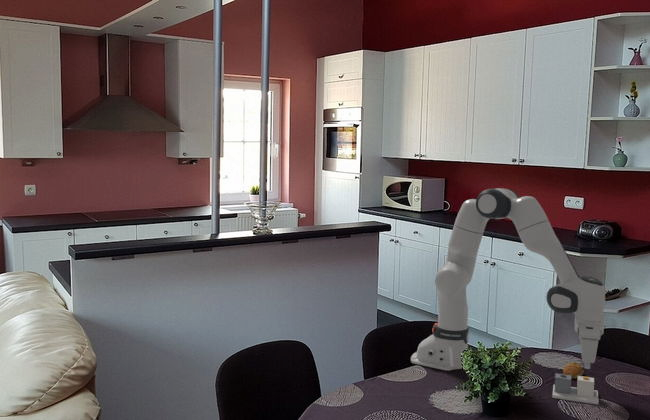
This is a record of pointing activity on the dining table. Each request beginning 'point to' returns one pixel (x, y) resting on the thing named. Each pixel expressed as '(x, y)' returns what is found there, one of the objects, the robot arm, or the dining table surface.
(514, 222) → the robot arm
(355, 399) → the dining table surface
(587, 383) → the module
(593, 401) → the rail base
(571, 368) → the pastry
